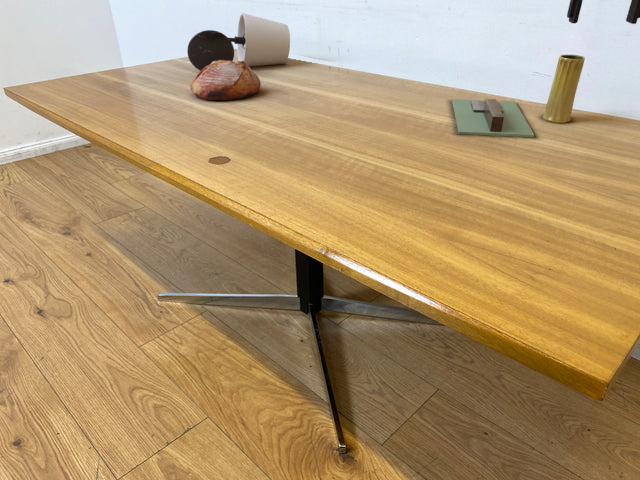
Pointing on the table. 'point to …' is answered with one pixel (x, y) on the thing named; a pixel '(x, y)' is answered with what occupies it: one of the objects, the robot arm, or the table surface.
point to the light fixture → (243, 44)
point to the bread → (225, 81)
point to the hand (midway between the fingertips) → (601, 22)
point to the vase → (564, 88)
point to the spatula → (490, 113)
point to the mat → (477, 123)
